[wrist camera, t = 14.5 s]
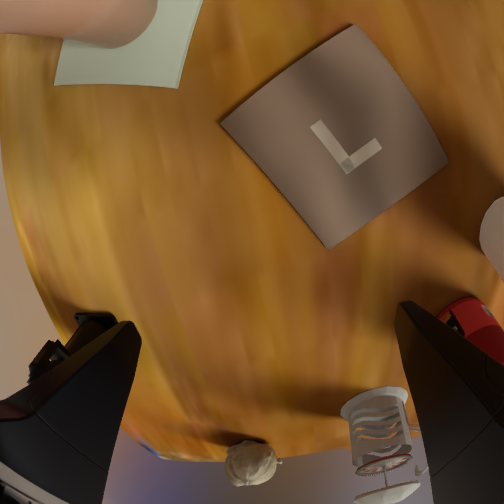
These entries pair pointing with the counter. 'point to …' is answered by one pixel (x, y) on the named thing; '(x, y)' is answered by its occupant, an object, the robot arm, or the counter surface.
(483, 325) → the canned food
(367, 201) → the flat taupe board
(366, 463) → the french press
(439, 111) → the counter surface
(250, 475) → the garlic bulb
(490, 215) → the foam cup
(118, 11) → the peach cylinder
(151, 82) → the sage mat
